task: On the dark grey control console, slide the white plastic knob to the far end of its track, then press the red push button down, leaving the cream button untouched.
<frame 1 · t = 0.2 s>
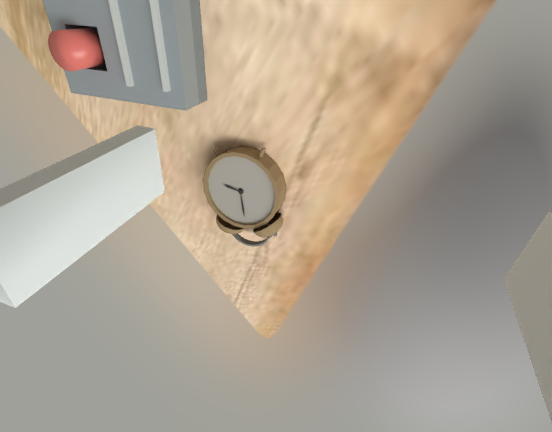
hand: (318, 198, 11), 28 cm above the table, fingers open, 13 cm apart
alarm clock: (252, 192, 47), on the table
button red: (78, 49, 37), point 6 cm above the table, slide at 0.0 cm
console: (136, 8, 38), on the table
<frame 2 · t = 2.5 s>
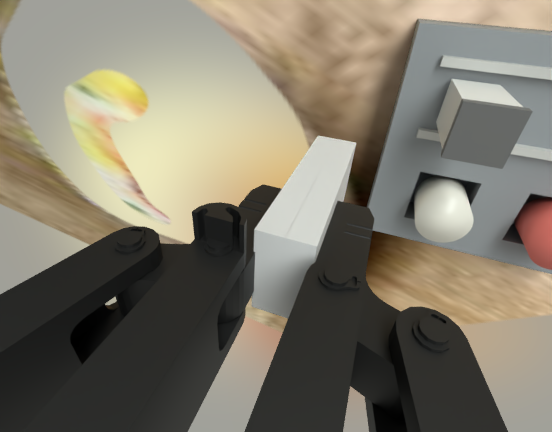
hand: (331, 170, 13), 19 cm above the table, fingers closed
button cream: (441, 208, 26), point 6 cm above the table, slide at 0.0 cm
slider knob: (473, 118, 20), point 9 cm above the table, slide at 0.0 cm
console: (501, 144, 28), on the table
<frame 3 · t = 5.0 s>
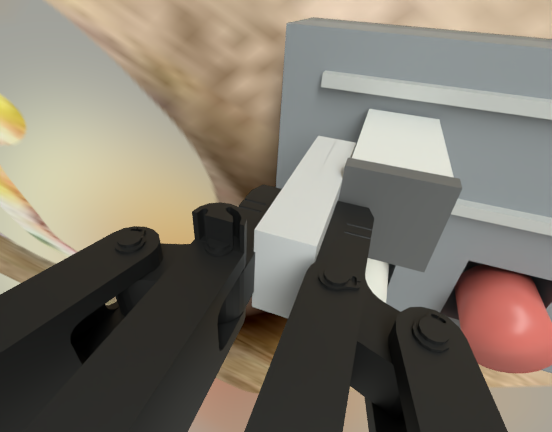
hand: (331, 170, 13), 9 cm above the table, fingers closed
button cream: (352, 275, 19), point 6 cm above the table, slide at 0.0 cm
slider knob: (391, 175, 13), point 9 cm above the table, slide at 1.3 cm, touching gripper
button red: (500, 315, 17), point 6 cm above the table, slide at 0.0 cm
console: (439, 184, 21), on the table
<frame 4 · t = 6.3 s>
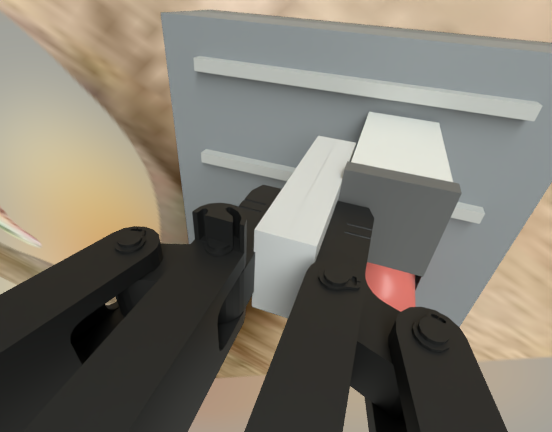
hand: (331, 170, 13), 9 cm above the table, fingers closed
slider knob: (390, 179, 13), point 9 cm above the table, slide at 7.8 cm, touching gripper
button red: (378, 285, 19), point 6 cm above the table, slide at 0.0 cm
console: (340, 167, 22), on the table
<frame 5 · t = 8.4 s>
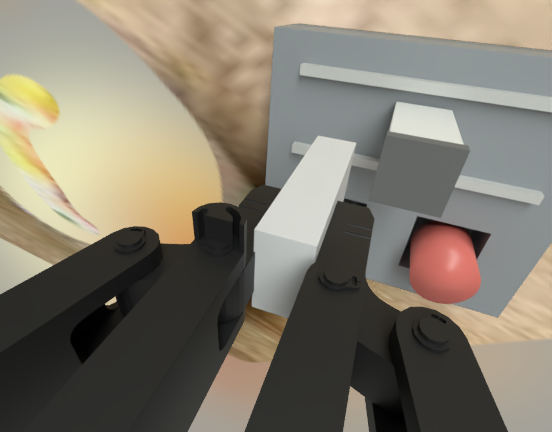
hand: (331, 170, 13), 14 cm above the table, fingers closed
button cream: (327, 229, 24), point 6 cm above the table, slide at 0.0 cm
slider knob: (415, 151, 16), point 9 cm above the table, slide at 4.9 cm
button red: (441, 260, 22), point 6 cm above the table, slide at 0.0 cm
console: (401, 160, 25), on the table
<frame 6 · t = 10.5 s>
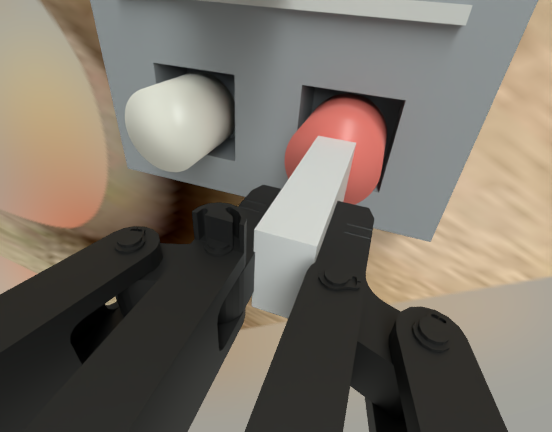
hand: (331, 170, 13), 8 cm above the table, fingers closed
button cream: (185, 120, 17), point 6 cm above the table, slide at 0.0 cm
button red: (339, 148, 15), point 6 cm above the table, slide at 0.1 cm, touching gripper
console: (299, 30, 18), on the table
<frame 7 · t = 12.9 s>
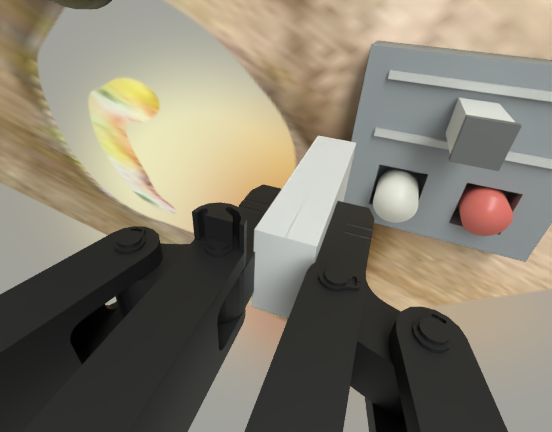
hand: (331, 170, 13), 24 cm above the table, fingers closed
button cream: (396, 194, 32), point 6 cm above the table, slide at 0.0 cm
slider knob: (476, 130, 24), point 9 cm above the table, slide at 4.9 cm
button red: (482, 207, 31), point 4 cm above the table, slide at 1.6 cm
console: (450, 144, 33), on the table
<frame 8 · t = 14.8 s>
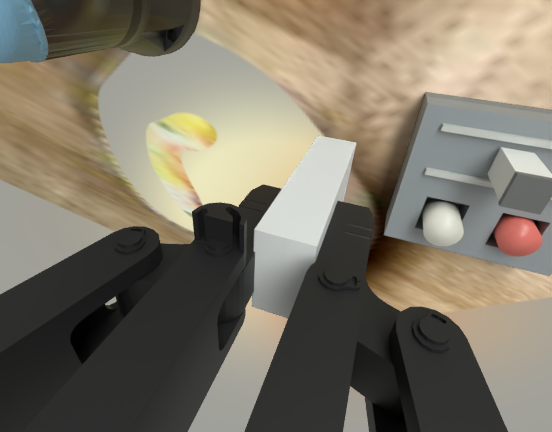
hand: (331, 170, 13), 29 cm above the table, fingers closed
button cream: (441, 222, 37), point 6 cm above the table, slide at 0.0 cm
slider knob: (518, 177, 30), point 9 cm above the table, slide at 4.9 cm
button red: (514, 231, 37), point 4 cm above the table, slide at 1.6 cm
console: (484, 176, 39), on the table
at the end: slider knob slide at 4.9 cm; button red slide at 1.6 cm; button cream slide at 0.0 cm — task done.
